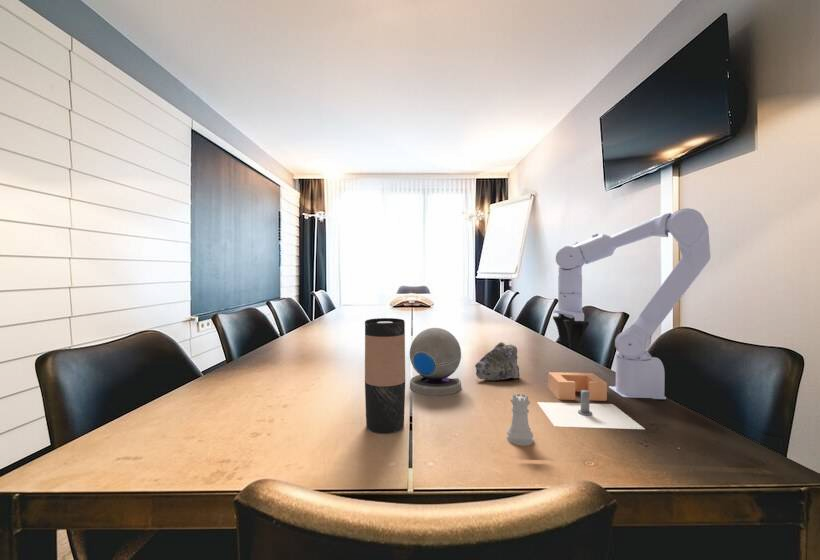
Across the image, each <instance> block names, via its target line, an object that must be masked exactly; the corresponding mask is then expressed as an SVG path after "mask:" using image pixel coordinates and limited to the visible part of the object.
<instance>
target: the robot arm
mask: <svg viewBox="0 0 820 560" xmlns="http://www.w3.org/2000/svg"><path fill="white" fill-rule="evenodd" d="M709 232H710V231H709V226H708V224H707V221H706V220H705V218H704V216H703V215H702V213H701V212H700V211H698V210H696V209H694V208H689V207H688V208H682V209H678V210H676V211H674V212H673V213H672V212H668V213H664V214H661V215H659V216H655V217H653V218H651V219H648V220H645V221H643V222H642V223H639V224H637V225H634V226H632V227H630V228H627V229H625V230H622V231H620V232H618V233H614V234H613V235H611V236H610V235H607V234H605V233H601V234H599V233H594V234H592V235H591V238H588V239H587V240H584V241H582V242H578V241H576V242H574V243H573V246H572V245H571V246H570V245H569V246H568V245H565V246H564V247H562V248H560V249H559V250H558V251H557V252H556V255H555V263H556V264H557V266H558V276H557V277H558V278H557V282H558V283H557V284H558V285H557V287H558V288H557V293H558V295H557V298H558V299H557V309H553V313H555V314H557V316H556V315H555V316H552V320H553V321H554V323H555V326H556V329H557V332H558V338H559V341H560V343H563V344H569V347H570V349H575V350H576V349H580V347H581V345H582V342H583V336H584V334H585V331H586V329H587V328H588V327H589V325H590V322H589V321H585V313H584V311H583V275H582V273H583V269H582V268H583V266H584V265H588V264H591V263H594V262H596V261H600V260H602V259H606V258H608V257H611V256H613V254H614V253H615V251H616V249H618V248H620V247H624V246H626V245H629V244H632V243H636V242H638V241H641V240H644V239H647V238H651V237H659V238H660V237H661V238H669V233H670V234H671V236H672V237H673V239H674V240H675V241H676V242H677V245H678V248H679V250H680V251H679V252H680V255H681V259H679V261H678V262H677V264H676V265H675V267H673V269H672V270H671V272H670V273H669V274H668V276H667V277H666V279H665V280H664V281H663V283H662V284H661V285H660V286H659V288H658V289H657V291H656V292H655V293H654V295H653V296H652V298H651V299H650V300H649V301H648V303H647V304H646V305H645V307H644V308H643V310H642V311H641V312H640V313H639V315H638V316H637V318H635V320H634V321H633V322H632V324H631V325H630V326H628V327H627V328H625V329H624V330H623V331H621V332H620V333H619V334H617V335H616V337H615V339H614V346H615V349H616V351H617V352H615V385H614V386H613V385H610V386H608V388H609V389H611V390H612V391H613V392H616V394H618V395H620V397H622V398H635V399H637V398H643V399H652V400H666V399H667V397H666V396H665V375H666V373H665V367H664V364H663V362H662V360H661V359H660V358H659V357H655V356H652V354H650V353H649V351H648V350H647V349H649V348H650V346H651V344H652V337H653V335H654V334H655V332H656V331H657V330H658V328H659V327H660V326H661V324H662V322H664V320H665V319H666V318H667V316H668V315H669V313H670V312H671V311H672V310H673V309H674V307H675V306H676V304H677V303H678V302H679V301H680V299H681V298H682V297H684V296H683V295H684V294H685V293H686V292H687V290H688V289H689V288H690V287H691V285H692V283H694V282H695V281H696V279H697V277H698V276H699V275H700V274H701V273H702V271H703V270H704V268H705V267H706V266H707V265H708V264H709V262H710V260H711V245H710V234H709Z"/></svg>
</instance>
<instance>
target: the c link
mask: <svg viewBox="0 0 820 560" xmlns="http://www.w3.org/2000/svg"><path fill="white" fill-rule="evenodd" d="M547 374H548V376H547V378H548V379H547V389H548V390H549V391H550V392H551V393H552V394H553V395H554V396H555V398H556V399H558V400H560V401H561V400H563V401H564V400H565V401H567V400H569V401H572V400H573V401H575V400H576V392H579V393H581V390H587V391H589V392H590V401H597V402H598V401H601V402H602V401H603V402H606V401H608V382H606V381H605V380H603V379H602V378H600V377H599V376H597V375H596V374H595V373H593V372H561V371H560V372H557V371H556V372H553V371H551V372H550V371H548V373H547Z"/></svg>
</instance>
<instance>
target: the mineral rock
mask: <svg viewBox="0 0 820 560" xmlns="http://www.w3.org/2000/svg"><path fill="white" fill-rule="evenodd" d="M518 357H519V356H518V347H517V346H516V345H514V344H505V343H504V342H502V341H500V342H499V343H498V344H496V345H495V346H494V348H492V350H490V351H488V352H487V353H486V354H485V355H483V357H482V358H480V359H479V361H478V362H477V363H475V365H474V366H475V370H476V371H475V375H476V377H477V378H478V379H480V380H485V381H486V380H487V381H494V382H495V381H496V380H497V381H503V380H507V379H518V378H520V376H521V375H520V367H519V365H518ZM497 381H496V382H497Z"/></svg>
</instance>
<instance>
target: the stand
mask: <svg viewBox="0 0 820 560" xmlns="http://www.w3.org/2000/svg"><path fill="white" fill-rule="evenodd" d="M590 401H591V400H590V392H589V391H587V390H581V392H580V402H578V403H577V402H576V403H575V402H550V401H549V402H544V401H541V402H540V401H537V402H536V404H537V405H538V406H539V407H540V409H541V410H542V411H543V413H544V414H545V415H546V417H547V418H548V419H549V421H550V422H551V424H552V425H553V427H555V428H583V429H585V428H587V429H589V428H590V429H591V428H592V429H614V430H615V429H616V430H617V429H618V430H620V429H622V430H625V429H626V430H645V428H644V427H643V426H642V425H640V423H638V422H637V421H635V420H634V419H633V418H632V417H630V416H629V415H628V414H626V413H625V412H623V411H622V410H621V409H620V408H619V407H617V406H616V405H614V403H590Z"/></svg>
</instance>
